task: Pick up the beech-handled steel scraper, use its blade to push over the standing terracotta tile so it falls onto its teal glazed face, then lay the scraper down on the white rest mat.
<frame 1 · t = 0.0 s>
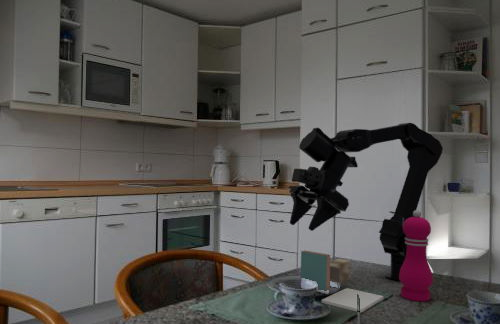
hand: (300, 226, 99), 15 cm above the table, tool tilted 35°, fingers open, 9 cm apart
tile: (314, 291, 98), on the table
pepper mill: (415, 298, 95), on the table
rest mat: (353, 300, 91), on the table
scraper: (336, 281, 106), on the table
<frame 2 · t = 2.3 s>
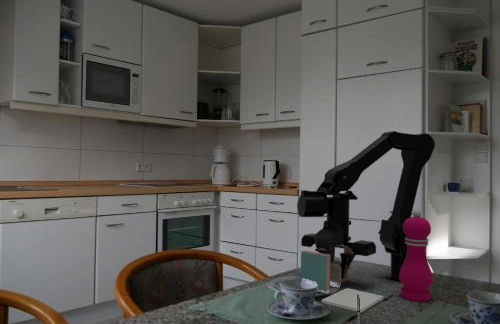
hand: (336, 277, 106), 1 cm above the table, tool pointing down, fingers closed on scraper, 3 cm apart
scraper: (336, 281, 106), on the table, touching gripper
everything else where it was.
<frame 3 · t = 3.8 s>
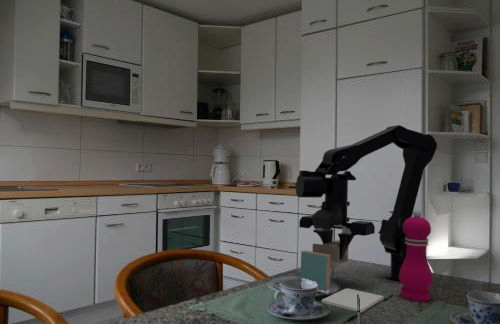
hand: (334, 258, 105), 6 cm above the table, tool pointing down, fingers closed on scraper, 3 cm apart
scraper: (334, 262, 105), point 5 cm above the table, touching gripper
everything else where it was.
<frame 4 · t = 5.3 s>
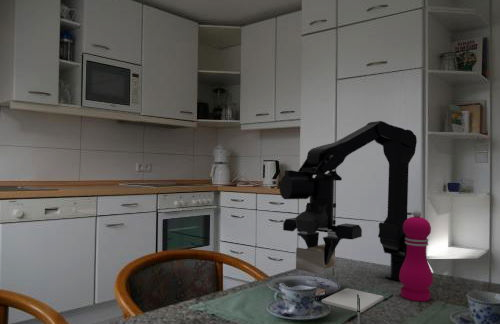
hand: (320, 263, 99), 6 cm above the table, tool pointing down, fingers closed on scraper, 3 cm apart
tile: (312, 289, 97), on the table, tilted 90°
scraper: (320, 267, 99), point 5 cm above the table, touching gripper
everything else where it was.
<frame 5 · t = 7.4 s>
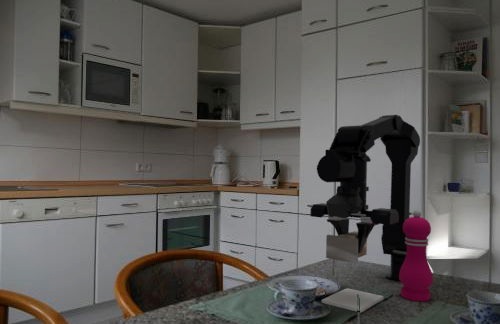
hand: (351, 252, 91), 11 cm above the table, tool pointing down, fingers closed on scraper, 3 cm apart
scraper: (351, 256, 91), point 10 cm above the table, touching gripper
everything else where it was.
when the fingers open (3 cm above the table, at t = 9.0 s): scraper stays where it is, resting on rest mat.
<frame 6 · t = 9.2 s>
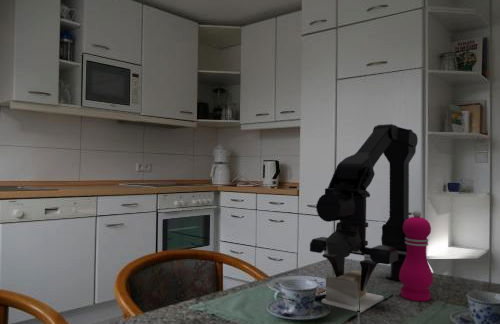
hand: (351, 288, 91), 3 cm above the table, tool pointing down, fingers open, 5 cm apart
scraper: (351, 297, 91), point 1 cm above the table, touching rest mat
everything else where it was.
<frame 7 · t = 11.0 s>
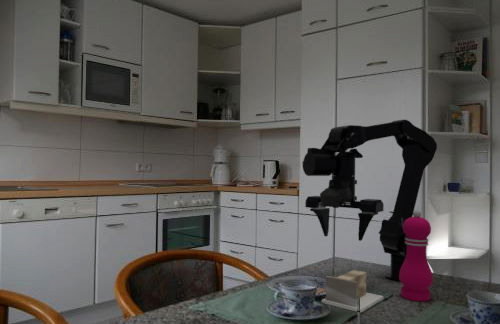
hand: (342, 238, 103), 12 cm above the table, tool pointing down, fingers open, 9 cm apart
nothing on the table moved.
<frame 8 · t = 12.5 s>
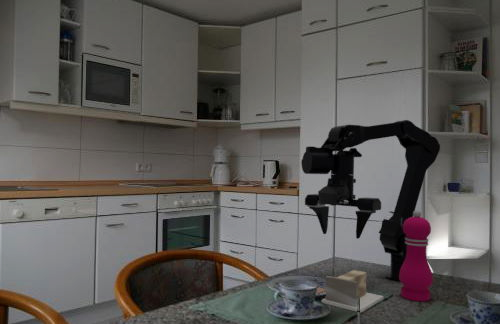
hand: (340, 236, 105), 12 cm above the table, tool pointing down, fingers open, 9 cm apart
nothing on the table moved.
at the end: tile tilted 90°; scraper inside the target area on the rest mat (0.2 cm from its centre), point 0.6 cm above the rest mat's base; the gripper is holding nothing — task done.
